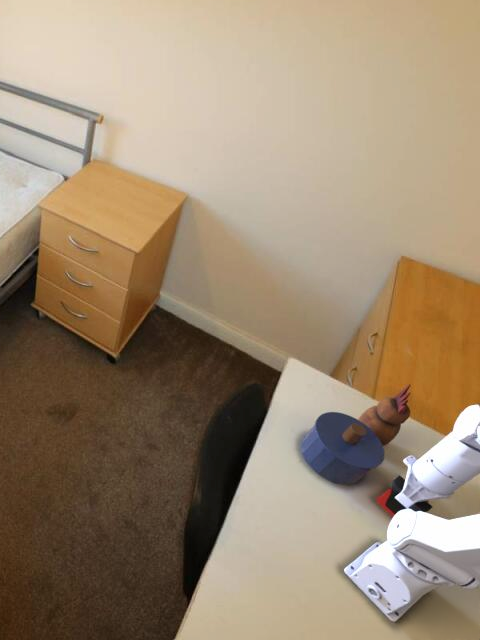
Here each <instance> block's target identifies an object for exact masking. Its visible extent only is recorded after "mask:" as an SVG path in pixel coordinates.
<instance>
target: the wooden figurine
mask: <svg viewBox="0 0 480 640" xmlns="http://www.w3.org/2000/svg"><path fill="white" fill-rule="evenodd" d="M410 388H411V384H408V385H405V387H404V388H403V389H402V390H400V391H399V392H398V393H397V394H396V395H395V396H388V397H385V398H382V399H381V400H380V401H379V402H378V403H377V404H376V405H372V406H370V407H369V408H367V409H366V410H365V411H364V412H363V413H362V414H361V415H360V417H358V418H357V420H359V421H361V422H362V423H364V424H365V425H366V426H368V427H369V428H370V429H371V430H372V431H373V432H374V433H375V434H376V436H377V437H378V438H379V440H380V441H381V443H382V445H383V447H385V446H387V445H388V444H389V443H391V442H392V441H393V440H395V438H396V437H397V435H398V434H399V433H400V430H401V426H402V424H404V423H405V422H406V421H408V419H409V418H410V416H411V409H410V407H409V405H408V404H407V403H408V402H409V400H408V398H409V396H411V392H408V391H409V389H410Z"/></svg>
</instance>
